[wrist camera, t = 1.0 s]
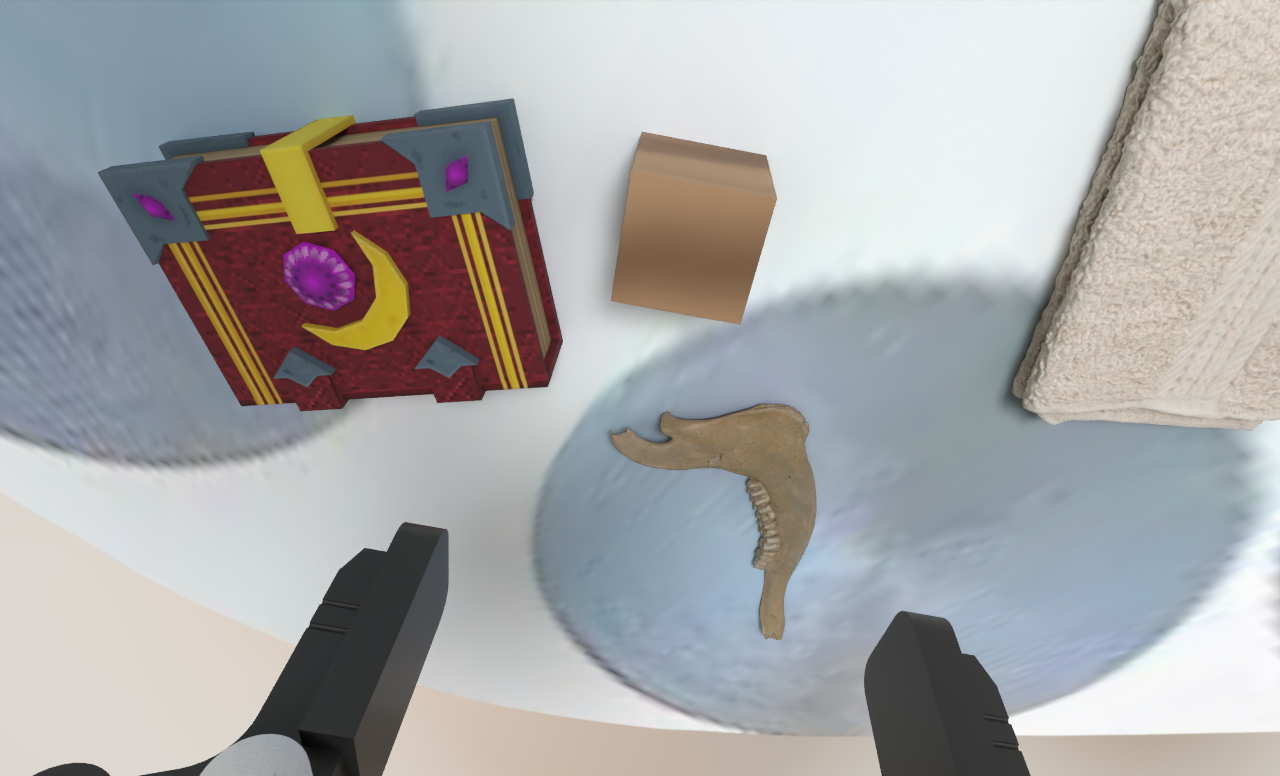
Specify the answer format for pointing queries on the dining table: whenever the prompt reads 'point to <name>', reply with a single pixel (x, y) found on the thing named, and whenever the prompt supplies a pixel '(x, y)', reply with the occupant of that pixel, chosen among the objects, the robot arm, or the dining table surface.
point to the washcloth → (1176, 239)
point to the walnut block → (693, 228)
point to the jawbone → (749, 482)
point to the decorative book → (355, 256)
